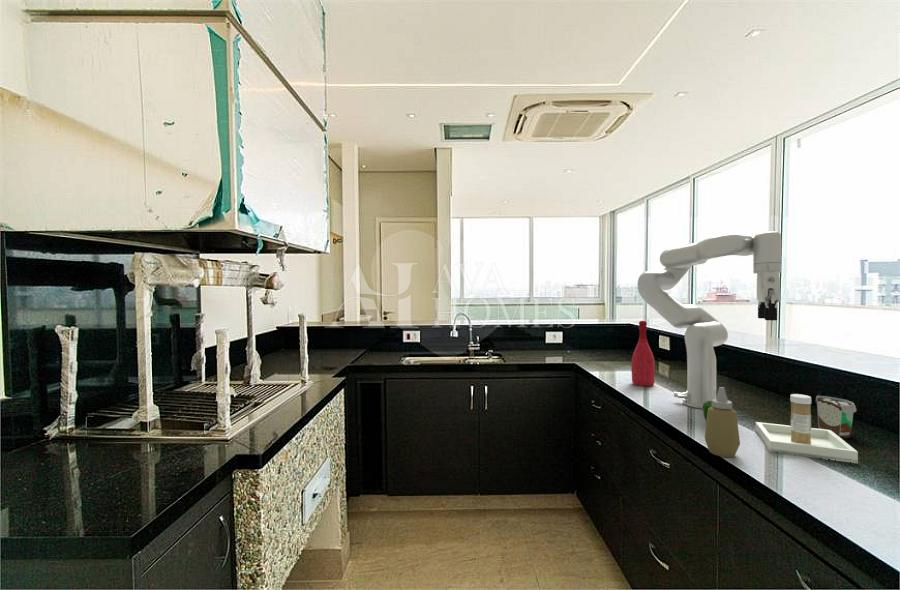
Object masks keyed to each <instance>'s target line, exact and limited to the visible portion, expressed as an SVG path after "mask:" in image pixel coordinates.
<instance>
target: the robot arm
mask: <svg viewBox="0 0 900 590" xmlns="http://www.w3.org/2000/svg"><path fill="white" fill-rule="evenodd" d="M727 256H739V257H740V256H741V257H747V256H753V257H752V258H753V261H752V262H753V264H752V266H753V270H752V273H753V274H756V300H757V301H758V304H757V318H758V319H764V320H765V321H778V305H777V303H780V302H781V301H782V300H781V299H782V296H781V295H782V294H781V281H780V273H782V235H781V233H780V232H779V231H762V232H758V233H755V234H744V233H734V232H733V233H727V234H726V233H725V234H722V235H717V236H713V237H710V238H706V239H703V240H700V241H697V242H693V243H689V244H685V245H680V246H675V247H674V246H673V247H671V248H667V249H665V250H663V251H662V252H661V253H660V256H659V262H660V264H661V265H662V267H664V269H663V270H660V269H657V270H656V269H651V270H646V271H644V272H642V273H641V274H640V275H639V276H638V278H637V279H638V280H637V291H638V293H639V295H640V297H641V298H642V300H643V301H645V303H646V304H647V305H648V306H650V307H651V308H652V309H654V310H655V312H657V313H658V314H659V315H660V316H661V317H662V318H663V319H665V321H667V323H669V324H670V325H671V326H672V327H674V328H676V329H686V330H685V332H684V343H685V348H686V366H687V369H686V370H687V372H686V373H687V374H686V375H687V376H686V377H687V379H686V380H687V381H686V383H687V385H686V386H687V390H685V391H683V392H678V391H673V396H674V398H678V399H683V400H682V403H683V404H684V405H685V406H688V407H691V408H694V409H695V408H696V409H702V410H703V405H704V403H706V402H707V401H712V400H713V399H716V398H717V357H716V353H715V349H714V347H718V346H721V345H723V344H725V343H726V342H727V341H728V337H729V332H728V330H727V328H726V327H725V326H724V325H723V324H722V323H721V322H720V321H719V320H718V319H716V317H713V315H711V314H710V313H709V312H707V311H706V310H705V309H704V308H702V307H700V306H698V305H695V304H683V303H681V302H680V301H678V300H677V299H675V297H674V296H672V294H669V293H668V292H665V291H669V290H671V289H673V288H675V287H676V286H677V284H678V283H679V282H680V281H681V280H682V279H683V277H684V276H685V275H686V273H688V271H689V270H690V269H691V267H692V266H697V265H704V264H705V263H707V261H709V260H711V259H715V258H722V257H727Z"/></svg>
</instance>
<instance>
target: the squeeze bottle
mask: <svg viewBox="0 0 900 590" xmlns="http://www.w3.org/2000/svg"><path fill="white" fill-rule="evenodd" d="M712 406H713V407H710V408H708V412H707V421H706V422H705V431H704V440H705V442H706V445H707V449H708V451H709V453H710V454H712V455H714V456H717V457H722V458H734V457H735V456H736V454H737V452H738V450H739V447H740V445H741V440H740V434H739V424H738V414H737V411H735V410H734V408H733V409H732V407H733V402H732V401H731V400H728V397H727V392H726V389H725V387H724V386H721V387H720V386H719V388H718V391H717V393H716V399H713V400H712Z"/></svg>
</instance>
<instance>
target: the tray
mask: <svg viewBox="0 0 900 590" xmlns="http://www.w3.org/2000/svg"><path fill="white" fill-rule="evenodd" d="M754 424H755V425H754V426H755V433H756V434H757V436H758V435H759V436H758V437H759V438H760V440H761V441H762V443H763V442H764V443H765V444H764V443H763V444H764V445H765V447H766V446H767V447H766V448H767V449H769V450H768V451H769V452H770V453H775V452H778V453H777V454H783V453H786V454H785V455H790V454H793V455H792V456H798V455H799V456H798V457H805V456H806V457H807V458H814V459H820V458H822V460H828V459H830V460H829V461H835V460H836V461H837V462H845V463H850V462H851V464H858V463H859V457H858V456H859V453H858V451H857V450H856V449H855V448H854V447H852V446H851V445H850V444H849V443H848V442H846V441H845V440H844V439H843V438H840V437H839V436H837V435H836V434H835V433H834V432H832V431H831V430H826V429H820V428H815V427H811V444H802V443H794V442H792V441H791V425H786V424H779V423H778V424H777V423H769V422H768V423H767V422H759V421H755V423H754Z"/></svg>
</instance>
